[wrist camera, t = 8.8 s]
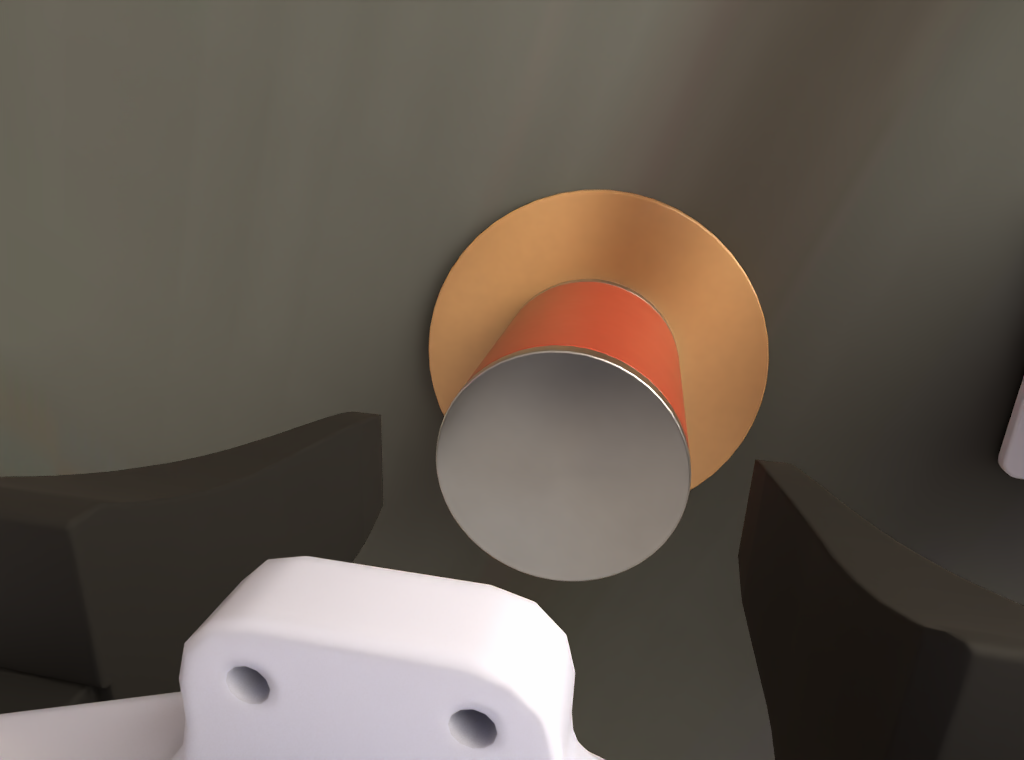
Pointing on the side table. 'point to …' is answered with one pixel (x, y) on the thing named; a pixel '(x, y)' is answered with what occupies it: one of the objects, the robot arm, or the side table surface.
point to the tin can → (571, 436)
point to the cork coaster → (634, 264)
